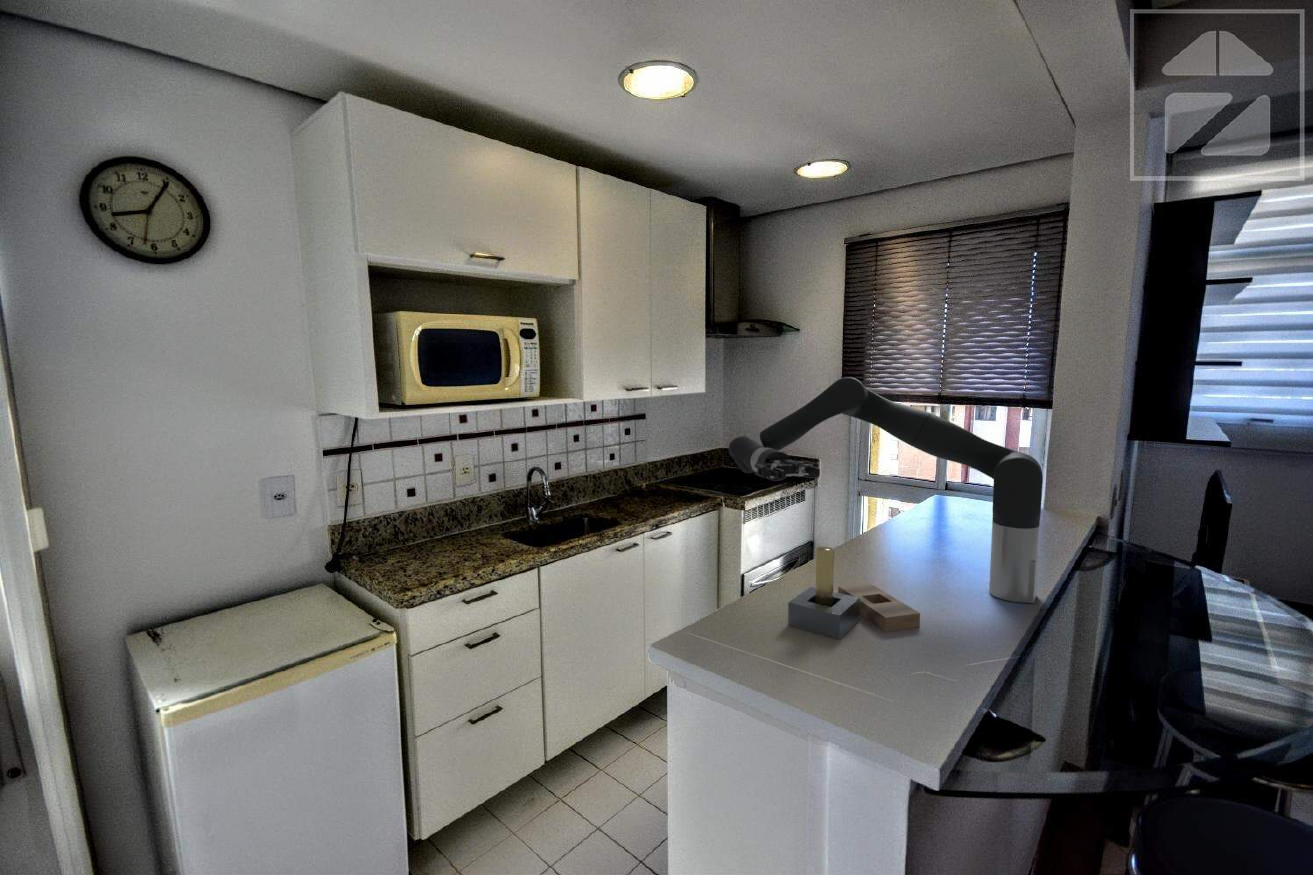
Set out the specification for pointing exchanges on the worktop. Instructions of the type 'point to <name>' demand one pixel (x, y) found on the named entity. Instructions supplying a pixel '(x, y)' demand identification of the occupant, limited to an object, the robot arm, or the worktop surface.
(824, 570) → the axle
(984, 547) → the worktop surface
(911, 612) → the beam
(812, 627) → the seat block
